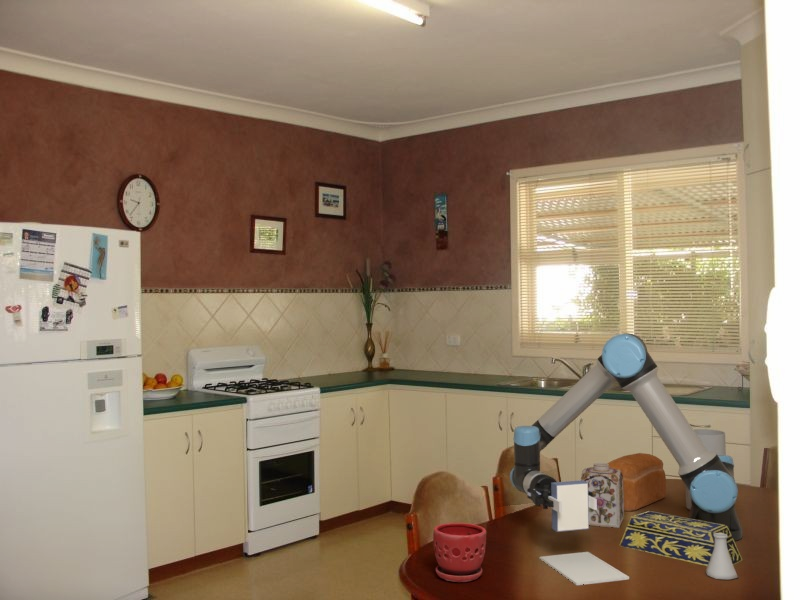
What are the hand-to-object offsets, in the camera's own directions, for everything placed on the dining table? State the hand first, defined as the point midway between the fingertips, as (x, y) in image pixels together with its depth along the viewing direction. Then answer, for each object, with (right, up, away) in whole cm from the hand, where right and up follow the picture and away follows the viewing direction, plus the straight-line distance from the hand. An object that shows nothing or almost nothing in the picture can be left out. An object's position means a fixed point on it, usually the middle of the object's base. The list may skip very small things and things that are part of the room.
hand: (578, 505), depth 198 cm
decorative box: (+29, -16, +10) cm, 35 cm away
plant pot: (-30, -16, -5) cm, 35 cm away
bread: (+34, -16, +66) cm, 76 cm away
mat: (+1, -16, -1) cm, 16 cm away
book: (-1, -7, +4) cm, 8 cm away
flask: (+33, -15, -9) cm, 37 cm away
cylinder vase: (+54, -16, +54) cm, 78 cm away
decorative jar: (+17, -16, +42) cm, 48 cm away
